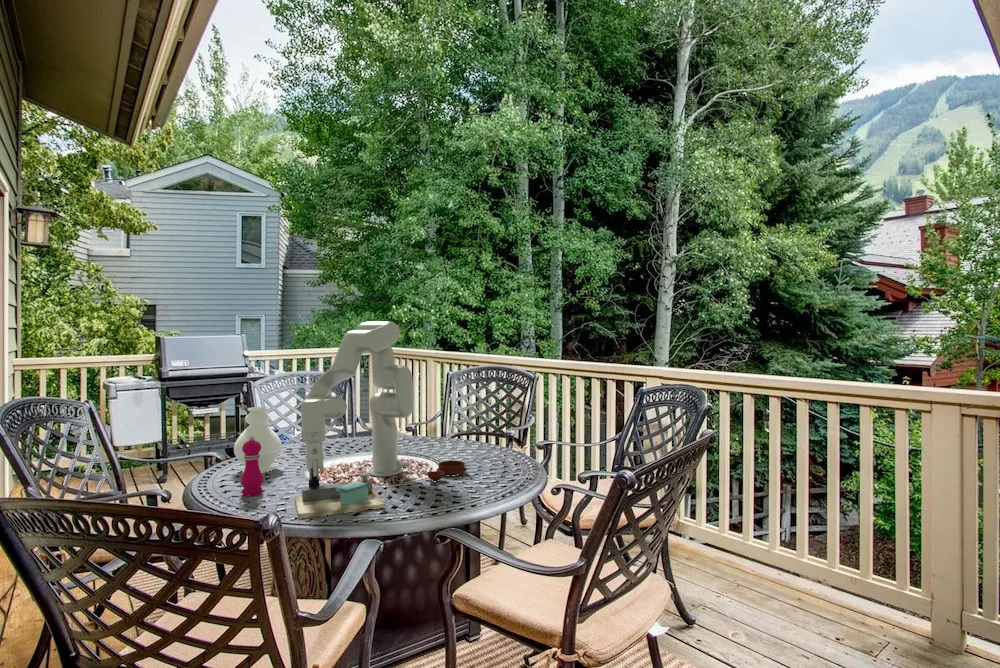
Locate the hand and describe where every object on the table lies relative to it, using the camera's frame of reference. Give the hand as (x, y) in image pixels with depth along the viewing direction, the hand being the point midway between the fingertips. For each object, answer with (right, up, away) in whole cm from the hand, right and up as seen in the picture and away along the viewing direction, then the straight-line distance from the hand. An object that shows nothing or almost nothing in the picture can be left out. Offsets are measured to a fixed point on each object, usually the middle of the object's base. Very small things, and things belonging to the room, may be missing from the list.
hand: (314, 491), depth 198 cm
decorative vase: (-35, -3, +40) cm, 54 cm away
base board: (+10, -3, -6) cm, 12 cm away
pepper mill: (-24, -3, +7) cm, 25 cm away
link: (+9, -1, -2) cm, 9 cm away
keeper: (+15, -1, -8) cm, 17 cm away
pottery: (+41, -2, +28) cm, 50 cm away
